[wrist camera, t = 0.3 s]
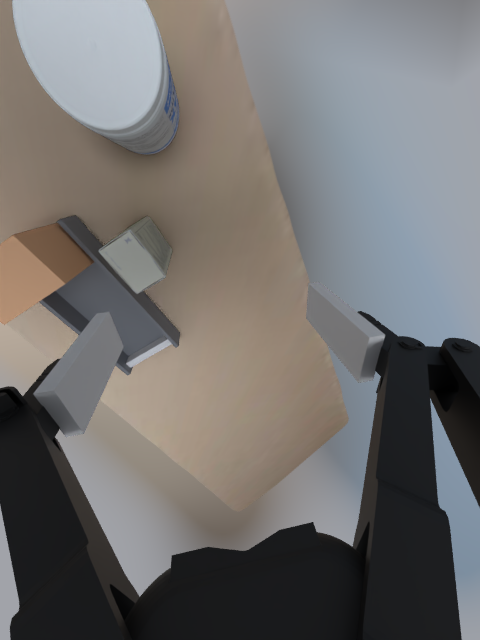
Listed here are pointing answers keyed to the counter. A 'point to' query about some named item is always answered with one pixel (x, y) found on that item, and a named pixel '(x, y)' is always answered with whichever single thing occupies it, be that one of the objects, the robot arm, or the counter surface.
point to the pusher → (36, 267)
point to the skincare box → (139, 255)
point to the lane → (110, 303)
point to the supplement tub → (102, 67)
